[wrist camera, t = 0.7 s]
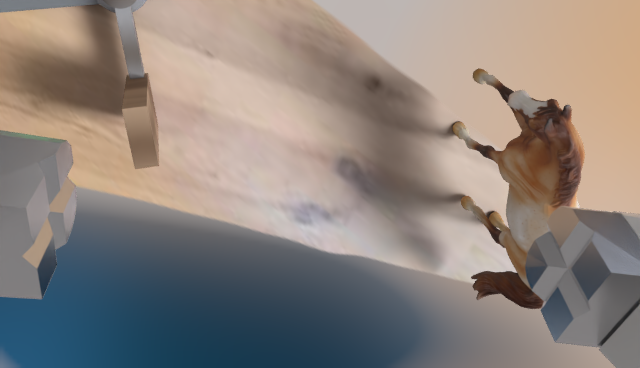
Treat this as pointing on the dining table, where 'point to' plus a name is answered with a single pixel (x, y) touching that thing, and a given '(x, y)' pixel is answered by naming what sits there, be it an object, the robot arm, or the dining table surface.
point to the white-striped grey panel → (56, 4)
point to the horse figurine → (527, 184)
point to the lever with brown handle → (136, 93)
